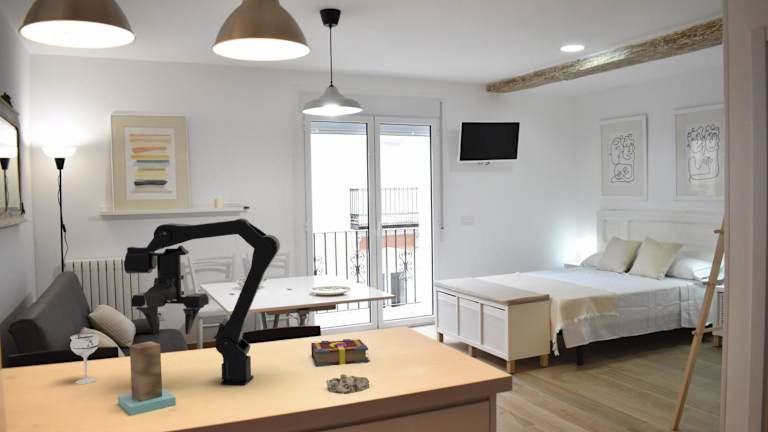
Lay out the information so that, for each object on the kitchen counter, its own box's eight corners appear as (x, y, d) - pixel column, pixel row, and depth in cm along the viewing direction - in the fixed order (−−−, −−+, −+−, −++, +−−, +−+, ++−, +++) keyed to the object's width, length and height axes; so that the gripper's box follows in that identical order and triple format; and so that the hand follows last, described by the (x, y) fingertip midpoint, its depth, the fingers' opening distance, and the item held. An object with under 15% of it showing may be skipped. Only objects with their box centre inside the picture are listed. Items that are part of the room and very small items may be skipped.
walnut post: (153, 391, 143) (150, 341, 143) (162, 395, 140) (160, 344, 139) (131, 396, 140) (129, 345, 139) (140, 401, 136) (138, 348, 136)
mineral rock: (328, 387, 144) (325, 369, 151) (327, 403, 145) (324, 384, 152) (372, 385, 146) (367, 367, 153) (371, 401, 147) (366, 382, 154)
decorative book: (310, 357, 179) (310, 340, 179) (364, 352, 183) (363, 336, 183) (315, 367, 168) (315, 350, 168) (372, 363, 172) (372, 345, 172)
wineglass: (71, 379, 159) (69, 334, 159) (99, 375, 163) (97, 331, 162) (72, 386, 154) (70, 340, 153) (101, 382, 157) (99, 336, 156)
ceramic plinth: (161, 396, 147) (161, 386, 147) (175, 407, 139) (175, 397, 139) (118, 406, 141) (117, 395, 140) (130, 418, 133) (130, 407, 133)
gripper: (116, 276, 147) (118, 340, 148) (187, 277, 144) (189, 342, 145) (142, 270, 158) (144, 329, 159) (208, 271, 155) (210, 331, 156)
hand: (170, 333), depth 154 cm, fingers open, 9 cm apart
